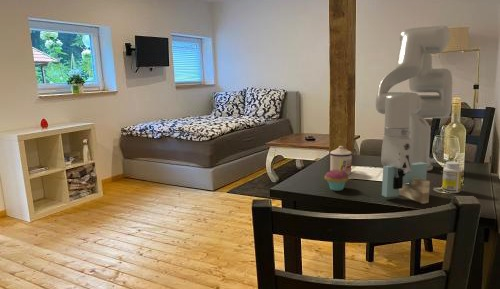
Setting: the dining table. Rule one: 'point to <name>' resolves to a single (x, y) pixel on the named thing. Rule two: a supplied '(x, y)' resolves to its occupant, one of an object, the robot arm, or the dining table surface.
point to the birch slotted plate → (416, 190)
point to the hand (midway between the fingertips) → (394, 186)
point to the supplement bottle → (451, 177)
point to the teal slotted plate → (416, 172)
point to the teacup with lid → (336, 158)
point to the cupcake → (336, 178)
